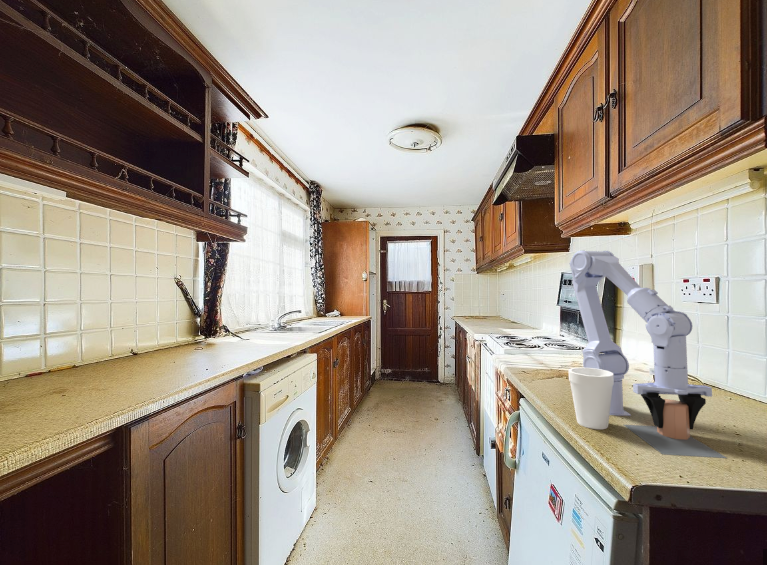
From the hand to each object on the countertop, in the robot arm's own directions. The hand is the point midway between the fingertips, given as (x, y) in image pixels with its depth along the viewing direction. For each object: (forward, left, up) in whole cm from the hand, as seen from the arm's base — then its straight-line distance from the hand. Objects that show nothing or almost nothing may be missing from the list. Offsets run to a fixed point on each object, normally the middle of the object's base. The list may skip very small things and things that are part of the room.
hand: (672, 427), depth 76 cm
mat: (+3, -2, -2) cm, 4 cm away
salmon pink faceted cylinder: (0, 0, -2) cm, 2 cm away
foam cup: (-4, -15, -2) cm, 16 cm away
